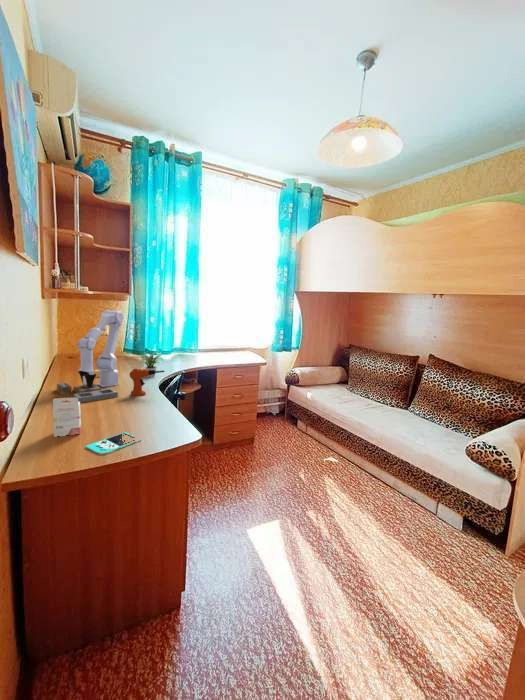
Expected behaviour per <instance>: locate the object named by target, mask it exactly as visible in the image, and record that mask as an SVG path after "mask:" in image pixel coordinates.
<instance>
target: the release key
mask: <svg viewBox="0 0 525 700" xmlns="http://www.w3.org/2000/svg"><path fill="white" fill-rule="evenodd" d="M64 383H65V382H59V383H58V384H59V385H61V386H62V387H68V386H67V385H65V384H64Z"/></svg>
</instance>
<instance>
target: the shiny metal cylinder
mask: <svg viewBox="0 0 525 700" xmlns="http://www.w3.org/2000/svg"><path fill="white" fill-rule="evenodd" d="M82 385H83V389H88V388H92V387H87V383H86V379H85V376H84V375H83V383H82Z"/></svg>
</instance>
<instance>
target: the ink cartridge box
mask: <svg viewBox="0 0 525 700" xmlns="http://www.w3.org/2000/svg"><path fill="white" fill-rule="evenodd" d="M65 401H67V402H65ZM81 415H82V414H81V403H80V402H78V398H77V397H76V398H74V397H61V398H53V399H52V421H53V425H52V426H53V437H54V438H58V437H57V436H60V437H67V436H66V435H70V436H76V435H75V434H79V435H81V431H82V416H81Z"/></svg>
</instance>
